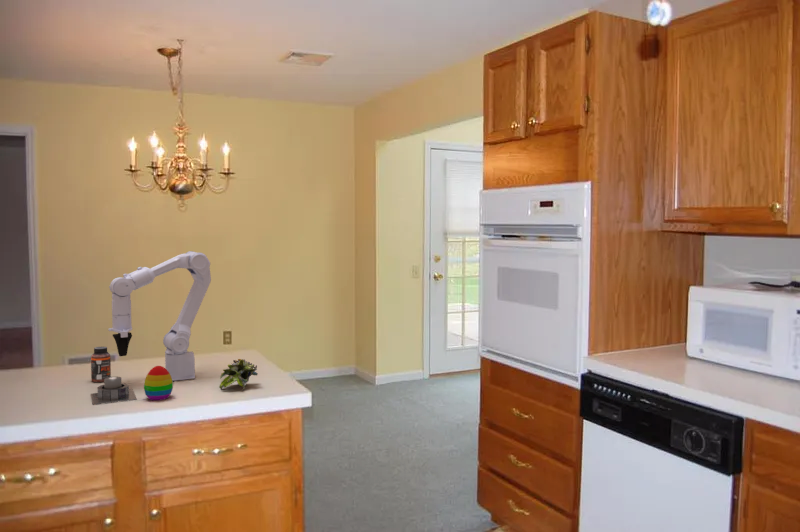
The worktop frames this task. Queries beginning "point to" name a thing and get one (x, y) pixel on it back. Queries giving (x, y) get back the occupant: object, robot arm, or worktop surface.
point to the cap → (112, 383)
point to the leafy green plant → (238, 373)
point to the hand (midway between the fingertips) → (122, 355)
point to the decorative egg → (158, 384)
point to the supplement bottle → (100, 364)
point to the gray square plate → (113, 394)
